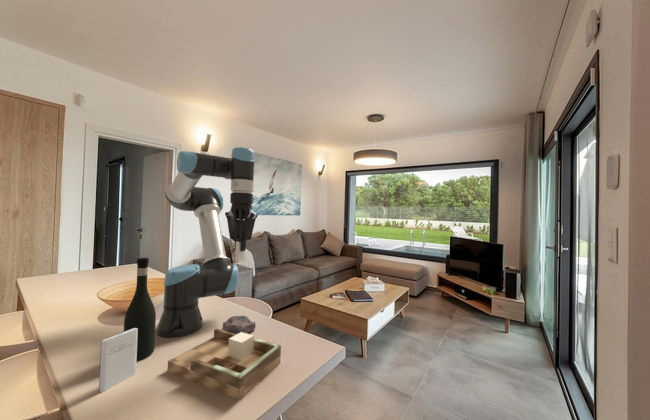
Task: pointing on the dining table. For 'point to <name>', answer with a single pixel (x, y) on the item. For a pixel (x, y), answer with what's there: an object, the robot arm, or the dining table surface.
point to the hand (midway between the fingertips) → (239, 260)
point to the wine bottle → (142, 313)
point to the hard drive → (118, 358)
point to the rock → (238, 325)
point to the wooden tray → (226, 365)
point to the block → (240, 345)
